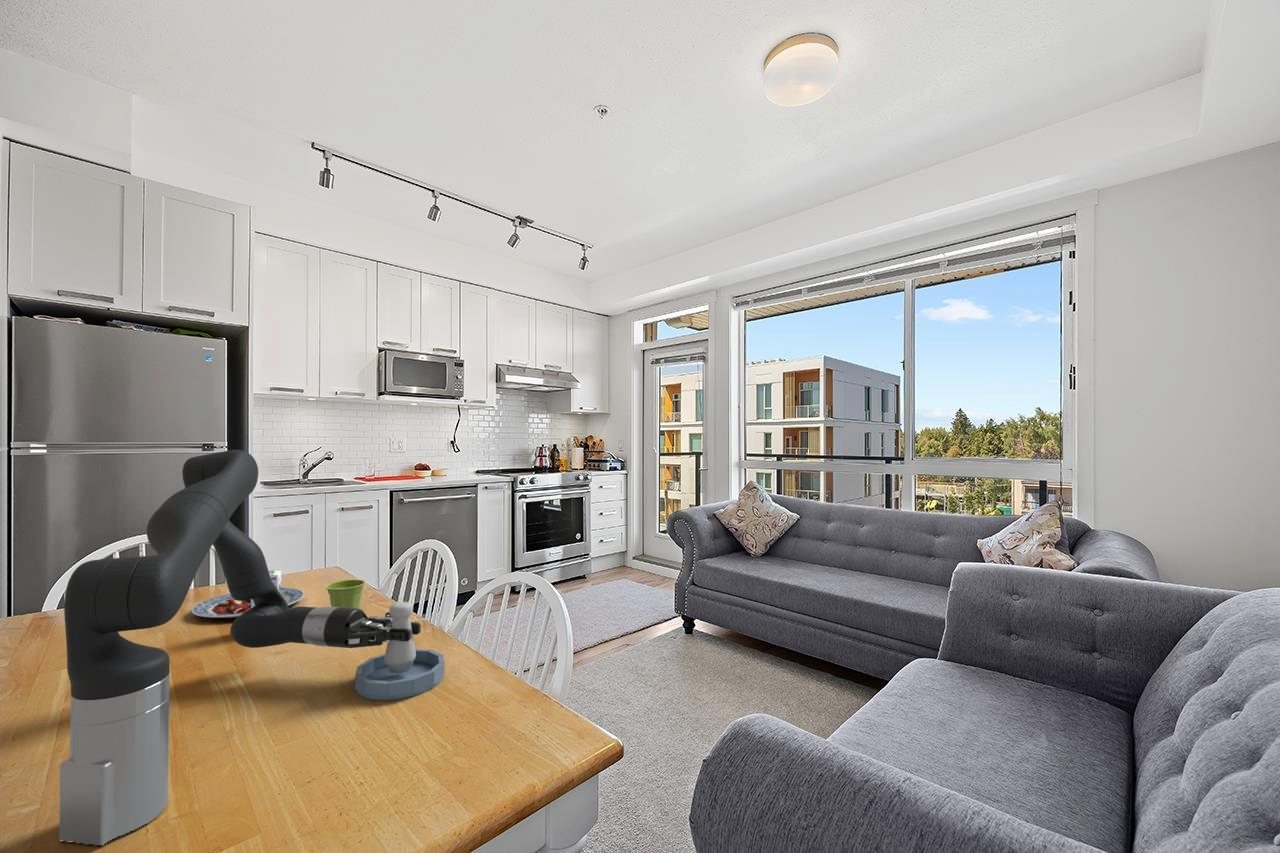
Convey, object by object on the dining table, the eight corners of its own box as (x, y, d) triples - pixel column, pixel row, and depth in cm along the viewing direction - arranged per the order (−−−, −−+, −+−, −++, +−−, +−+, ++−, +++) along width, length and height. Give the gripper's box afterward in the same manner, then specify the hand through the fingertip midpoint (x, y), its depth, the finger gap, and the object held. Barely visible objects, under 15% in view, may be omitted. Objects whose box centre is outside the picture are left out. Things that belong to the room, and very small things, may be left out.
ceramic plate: (195, 632, 136) (195, 620, 136) (188, 607, 155) (188, 597, 155) (313, 609, 154) (313, 599, 154) (294, 590, 173) (294, 580, 173)
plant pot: (317, 620, 144) (317, 587, 144) (345, 609, 153) (346, 578, 153) (345, 623, 142) (345, 590, 142) (373, 612, 151) (373, 580, 151)
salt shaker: (403, 677, 106) (405, 609, 106) (377, 673, 107) (378, 607, 107) (421, 664, 112) (422, 600, 112) (396, 661, 113) (397, 598, 113)
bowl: (417, 703, 100) (417, 685, 100) (336, 697, 102) (337, 680, 102) (457, 666, 116) (457, 651, 116) (386, 662, 118) (387, 647, 118)
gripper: (310, 620, 104) (395, 625, 102) (357, 597, 118) (432, 602, 116) (309, 659, 104) (394, 666, 102) (356, 632, 118) (432, 637, 116)
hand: (414, 631), depth 109 cm, fingers closed on salt shaker, 3 cm apart
